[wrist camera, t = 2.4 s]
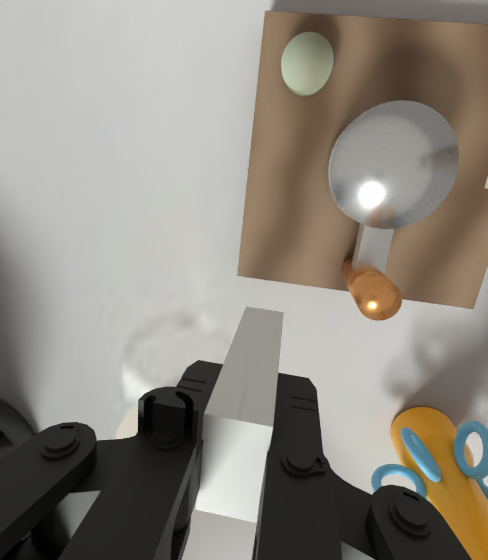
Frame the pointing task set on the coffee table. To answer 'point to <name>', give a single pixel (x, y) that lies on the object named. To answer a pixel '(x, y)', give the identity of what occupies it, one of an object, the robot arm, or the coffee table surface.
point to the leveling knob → (388, 189)
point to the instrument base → (335, 119)
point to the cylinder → (444, 472)
